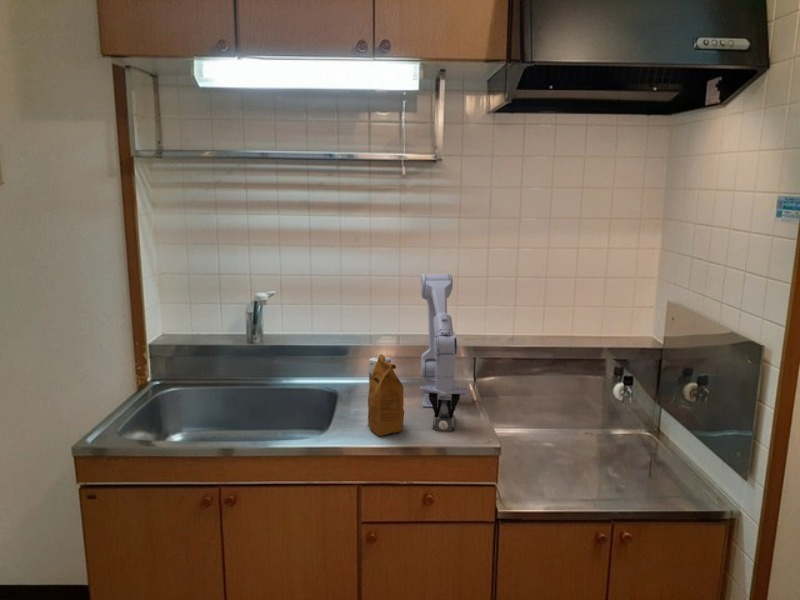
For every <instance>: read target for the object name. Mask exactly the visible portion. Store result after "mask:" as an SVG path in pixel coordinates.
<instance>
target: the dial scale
mask: <svg viewBox="0 0 800 600" xmlns="http://www.w3.org/2000/svg"><path fill="white" fill-rule="evenodd" d="M455 425H456V415H455V412H454V413H453V418H452V419H451V418H450V419H441V418H435V413H434V416H433V421H432V430H434V432H444V433H447V432H448V433H452V431H455V427H456V426H455Z"/></svg>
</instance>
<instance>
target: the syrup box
mask: <svg viewBox="0 0 800 600" xmlns="http://www.w3.org/2000/svg"><path fill="white" fill-rule="evenodd" d="M384 357H385V362H387V363H391V364H392V358H391V357H387V356H384ZM378 358H379V355H376V356H373V357H371V358H369V359H368V388H369V387H370V380H371V377H372V373H373V371H374V369H375V366H376V363H377V361H378Z"/></svg>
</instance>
